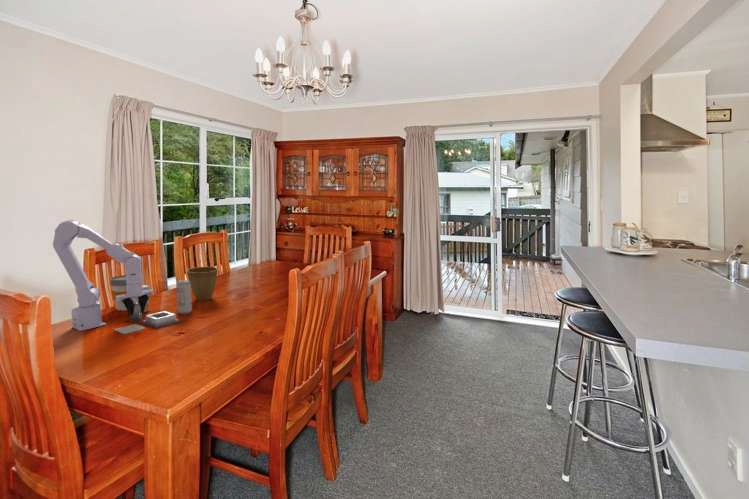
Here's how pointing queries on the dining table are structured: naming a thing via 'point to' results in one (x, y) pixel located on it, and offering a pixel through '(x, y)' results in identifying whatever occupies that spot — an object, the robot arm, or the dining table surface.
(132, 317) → the key peg
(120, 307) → the reusable coffee cup
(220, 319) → the dining table surface
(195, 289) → the plant pot
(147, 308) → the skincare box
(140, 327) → the mat
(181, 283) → the energy drink can
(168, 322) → the socket block
